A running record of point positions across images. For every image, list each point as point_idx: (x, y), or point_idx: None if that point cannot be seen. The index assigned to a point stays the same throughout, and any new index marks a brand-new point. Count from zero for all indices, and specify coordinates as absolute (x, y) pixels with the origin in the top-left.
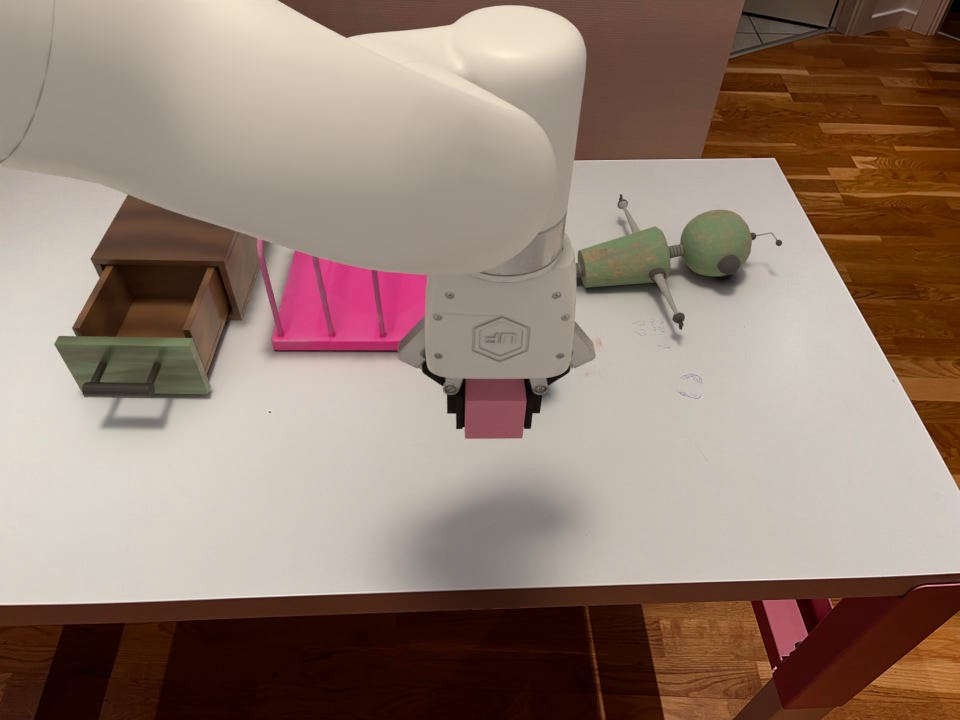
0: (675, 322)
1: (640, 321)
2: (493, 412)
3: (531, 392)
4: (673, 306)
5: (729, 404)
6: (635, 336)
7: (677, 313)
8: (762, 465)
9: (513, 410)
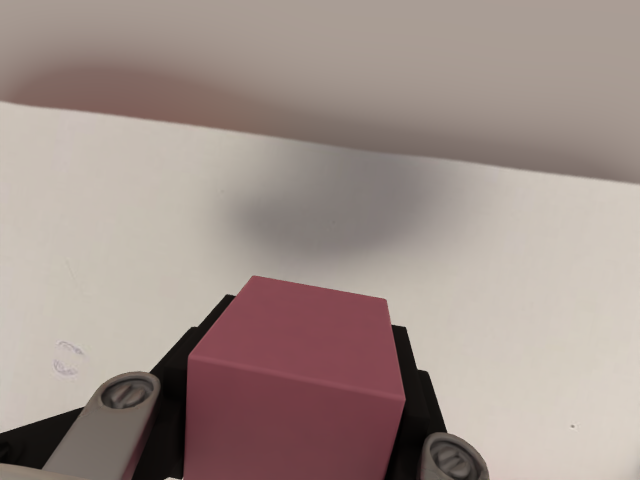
0: None
1: None
2: (310, 341)
3: (171, 386)
4: None
5: (28, 327)
6: None
7: None
8: (6, 243)
9: (245, 335)
